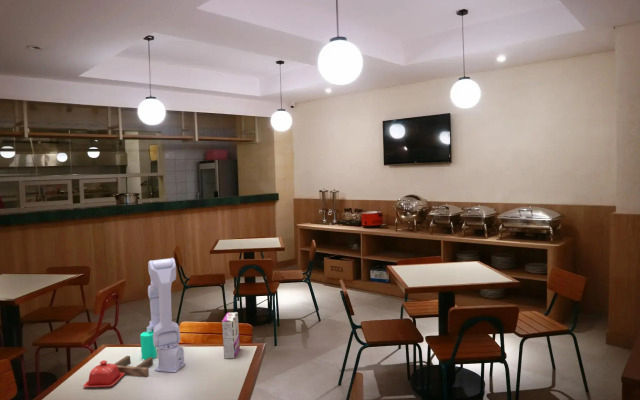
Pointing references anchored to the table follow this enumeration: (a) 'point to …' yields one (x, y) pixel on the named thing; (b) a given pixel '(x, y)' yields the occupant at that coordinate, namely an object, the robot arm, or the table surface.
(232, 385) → the table surface
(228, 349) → the candy bar box
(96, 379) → the butter dish
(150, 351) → the candle
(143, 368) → the brown wooden angled piece
